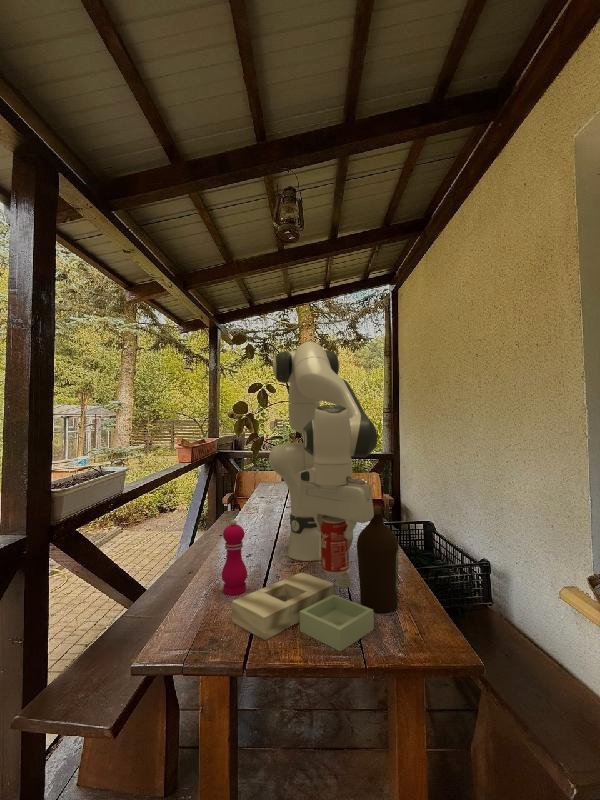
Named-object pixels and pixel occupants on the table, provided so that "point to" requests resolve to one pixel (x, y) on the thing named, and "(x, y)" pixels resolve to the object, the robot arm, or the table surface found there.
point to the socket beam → (279, 604)
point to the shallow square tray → (336, 621)
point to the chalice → (344, 578)
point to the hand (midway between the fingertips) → (334, 535)
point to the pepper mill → (234, 560)
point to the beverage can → (334, 546)
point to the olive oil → (378, 565)
